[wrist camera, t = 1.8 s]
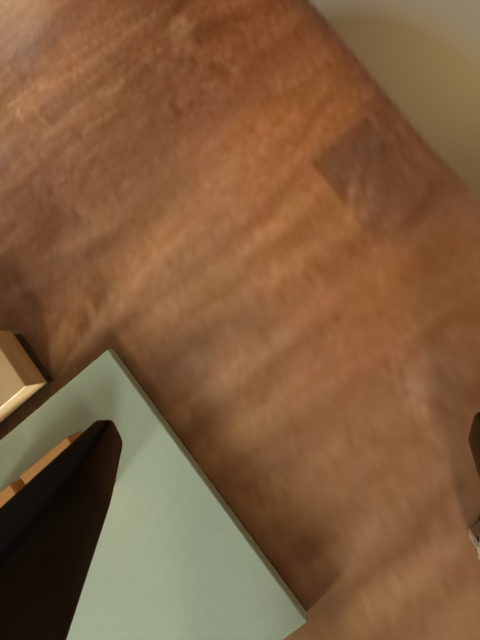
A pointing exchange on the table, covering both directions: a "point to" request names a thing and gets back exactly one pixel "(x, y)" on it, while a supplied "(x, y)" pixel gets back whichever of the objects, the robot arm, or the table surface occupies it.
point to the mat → (156, 526)
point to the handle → (475, 537)
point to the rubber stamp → (18, 374)
